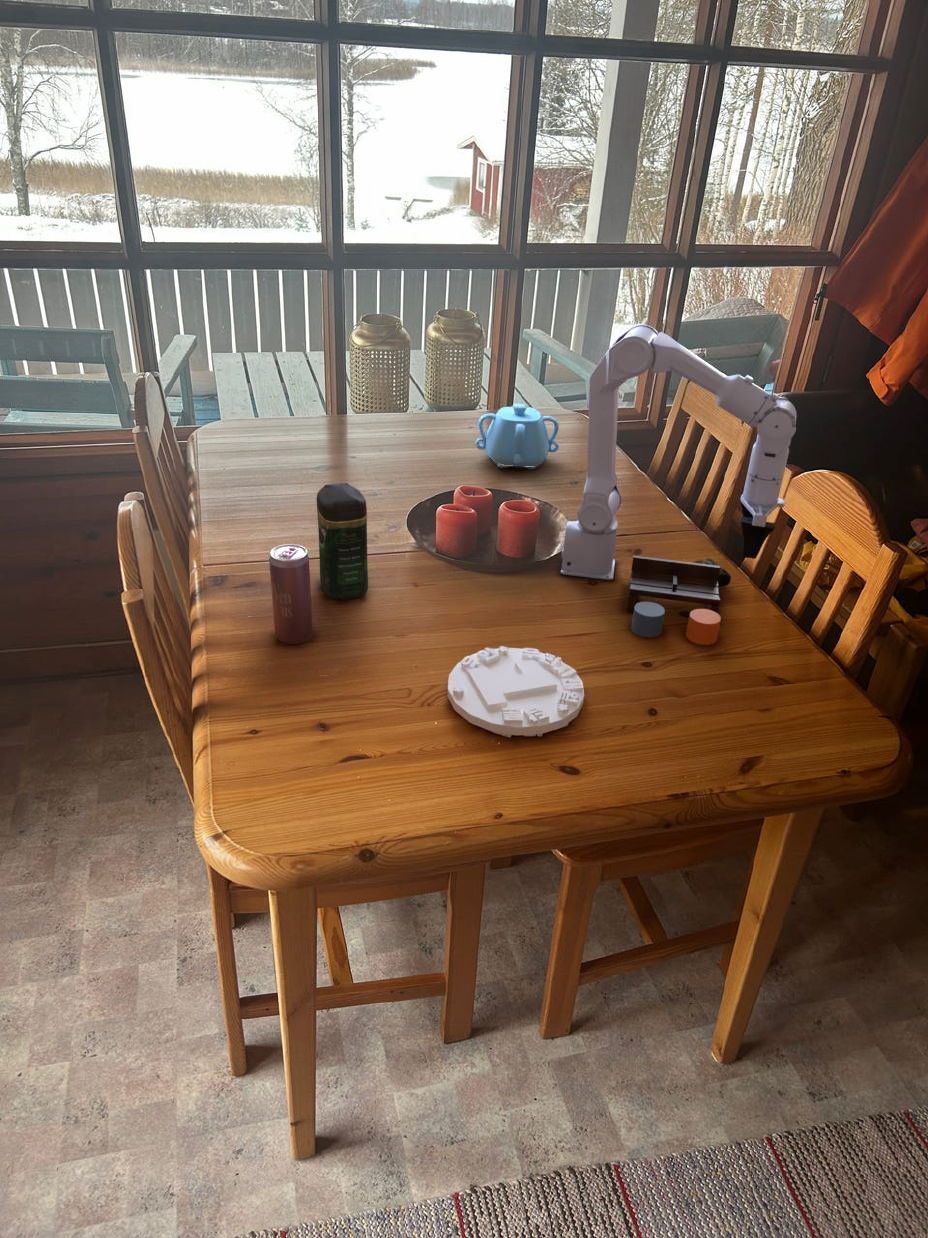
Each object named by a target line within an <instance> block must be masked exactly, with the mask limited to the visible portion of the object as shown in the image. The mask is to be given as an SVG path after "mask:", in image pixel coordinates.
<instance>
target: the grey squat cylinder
mask: <svg viewBox="0 0 928 1238" xmlns="http://www.w3.org/2000/svg"><path fill="white" fill-rule="evenodd" d="M665 613H666V609H665V608H664V607H663V605H661V604H658V603H656V602H653V601H640V602H637V603H635V606H634V612H633V613H632V619H631V626H630V629H631V632H633V634H635V635H637V636H639V637H643V638H657V637H659V636H660V635H661V634H662V630H663V624H664V620H665Z"/></svg>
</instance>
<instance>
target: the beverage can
mask: <svg viewBox="0 0 928 1238" xmlns="http://www.w3.org/2000/svg"><path fill="white" fill-rule="evenodd" d="M268 564H269V575H270V587H271V588H270V590H271V600H272V601H271V602H272V613H273V626H274V635H275V637H276V638H277V639H278V640H279V641H280V642H281V643H284V644H287V645H299V644H303V643H305V642H308V640H309V639H310V638H311V636H312V635H313V633H314V627H313V610H312V608H313V607H312V591H311V589H312V588H311V575H310V574H311V572H310V557H309V554H308V550H307V548H306V547H305V546H302V545H300V544H294V543H287V544H286V543H285V544H280V545H278V546H274V547H273V548H271V550H270V551H269V558H268Z"/></svg>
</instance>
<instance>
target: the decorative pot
mask: <svg viewBox="0 0 928 1238" xmlns="http://www.w3.org/2000/svg"><path fill="white" fill-rule="evenodd" d="M489 419H492V421H491V423H490V425H489V427H488V429H487V432H486V433H485V430H484V421H486V420H489ZM547 421H549V422H552V423H553V431H552V432H551V435H550V437H549V433H548V429H547V426H546V422H547ZM477 425H478V427H477V428H478V431H479V434H480V437H479V438H477V439H476V440H475V447H476V448H477V450H480V451H481V450H485V452H486V454H487V456H488V457H489V459H490V458H491V459H492V460H493V461H495V462H497V463H500V464H504V465H513V466H534V467H524V468H525V469H529V470H533V469H536V467H537V466H536V465H538V466H539V464H540V465H541V464H542V463H543V462H544V461H545V459H546V458H547V457H548V455H549V453H551V454H552V453H553V454H554V453H556V452H558V451H559V449H560V448H559V447H560V445H559V442H558V441H555V439H556V436H557V434H558V432H559V430H560V429H559V428H560V423H559V421H558V420H557V419H556V418H555V417H553V416H552V415H543V416H542V414H541V412H540V410H539V411H538V410H537V409H536V408H534V407H528V406H527V404H524V403H514V404H512V406H503V407H501V408H499V409H498V411H497V412H496V414H495V413H492V412H491V413H490V412H489V413H488V412H487V413H485V414H483V415H481V416H480V418H479V419H478V424H477ZM480 442H482V444H480ZM552 445H554V447H552ZM491 459H490V460H491ZM492 460H491V461H492ZM493 461H492V462H493ZM496 466H497V467H499V468H501V469H504V468H508V467H509V466H502V465H498V464H496Z"/></svg>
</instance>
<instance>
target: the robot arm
mask: <svg viewBox="0 0 928 1238" xmlns="http://www.w3.org/2000/svg"><path fill="white" fill-rule="evenodd" d="M651 367H653V368H652V372H651V373H652V374H660V373H666V372H673V373H675V374H677V375H679V376H681V377H682V378H683V379H684V378H685V379H686V380H688V381H689V382H691V383H693V384H695V385H697V386H699V387H700V388H701V389H704V390H706V391H707V392H710V393H711V394H713V395H714V396H715V399H716V405H717V407H719V408H720V409H722V410H724V411H725V412H727V413H729V414H730V415H732V416H733V417H735V418H737V419H738V420H740V421H741V422H743V423H745V424H746V425H748V426H750V427H754V428H756V433H757V435H756V441H755V442H754V444H753V446H752V450H751V455H750V458H749V463H748V464H749V465H748V469H747V474H746V478H745V482H744V488H743V491H742V492H743V493H742V494H741V495H740V497H739V502H740V506H741V510H742V515H741V516H740V517H739V523H740V527H741V530H742V531H741V532H742V539H743V540H742V557H743V558H745V559H746V558H747V559H753V560H756V559H757V557H758V556H759V553H760V552H761V549H762V547H763V545H764V543H765V541H766V540H767V538H768V537H769V536H770V534H772V532H774V531H775V528H776V523H775V522H771V521H767V520H768V517H769V516H770V515H771V513H773V512H774V511H775V510H776V509H777V508H784V507H785V505H786V504H785V503H786V502H785V499H784V498H779V497H780V493H781V487H782V484H783V480H784V476H785V471H786V467H787V464H788V458H789V454H790V448H789V447H790V446H791V443H792V438H793V437H794V435H795V433H796V431H797V428H796V427H797V417H798V416H797V410H796V406H795V405H794V404H793V403H792V402H791V401H789V399H788V398H787V397H785V396H779V394H777V393H775V392H772V394H771V393H770V392H768V391H766V390H764V388H761V387H760V386H758V385H756V384H755V383H753V382H754V378H753V377H752V376H750V375H749V374H747V375H746V376H742V375H741V374H732V375H725V374H724V373H722V372H721V371H720V370H718V369H717V368H715V366H713V365H711V364H709V362H706V361H705V360H704V359H703V358H701V357H700V356H698V355H696V354H695V353H693V352H692V351H690V350H689V349H688V348H686V347H685V346H684V345H682V344H681V343H679V342H678V341H676V340H675V339H673V338H672V337H671V336H669V335H668V334H666V333H665V332H663V331H662V332H661V331H660V332H658V331H657V329H655V328H654V327H652V326H650V325H648V324H637V325H634V326H632V327H631V328H629V329H628V330H627V331H625V332H624V333H622V334H621V335H620V336H619V337H618V338H617V339H616V340H615V341H614V343H613V344H612V345H611V346H610V348H609V349H608V350H607V351H606V353H605V354H604V356H603V357H602V358H601V360H600V361H599V362H598V364H597V365H596V367H594V369H593V371H592V372H591V373H590V376H589V383H588V385H589V386H588V422H587V423H588V424H587V462H586V463H587V464H586V465H587V466H586V479H585V483H584V488H583V493H582V501H581V504H580V506H579V508H578V509H577V513H576V514H577V515H576V516H577V520H575V521H574V520H573V521H570V520H569V521H567V523H566V527H565V532H564V533H565V534H564V542H563V548H562V549H561V558H560V559H561V570H560V574H561V575H565V576H574V577H582V578H588V579H596V580H603V581H604V580H606V581H612V580H614V572H615V564H616V560H615V559H614V557H615V549H616V541H617V534H618V526H619V524H618V521H617V519H616V513H617V511H618V510H619V509H620V507H621V505H622V502H623V498H622V494H621V491H620V490H619V487H618V475H617V473H616V467H617V465H616V464H617V463H616V462H617V440H618V439H617V437H618V417H619V416H618V413H619V390H620V387H621V386H622V385H623V384H624V383H625V382H627V381H628V380H630V379H633V378H636V377H638V376H641V375H643V374H644V373H646V372H647V371H648V370H649V369H650V368H651Z"/></svg>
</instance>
